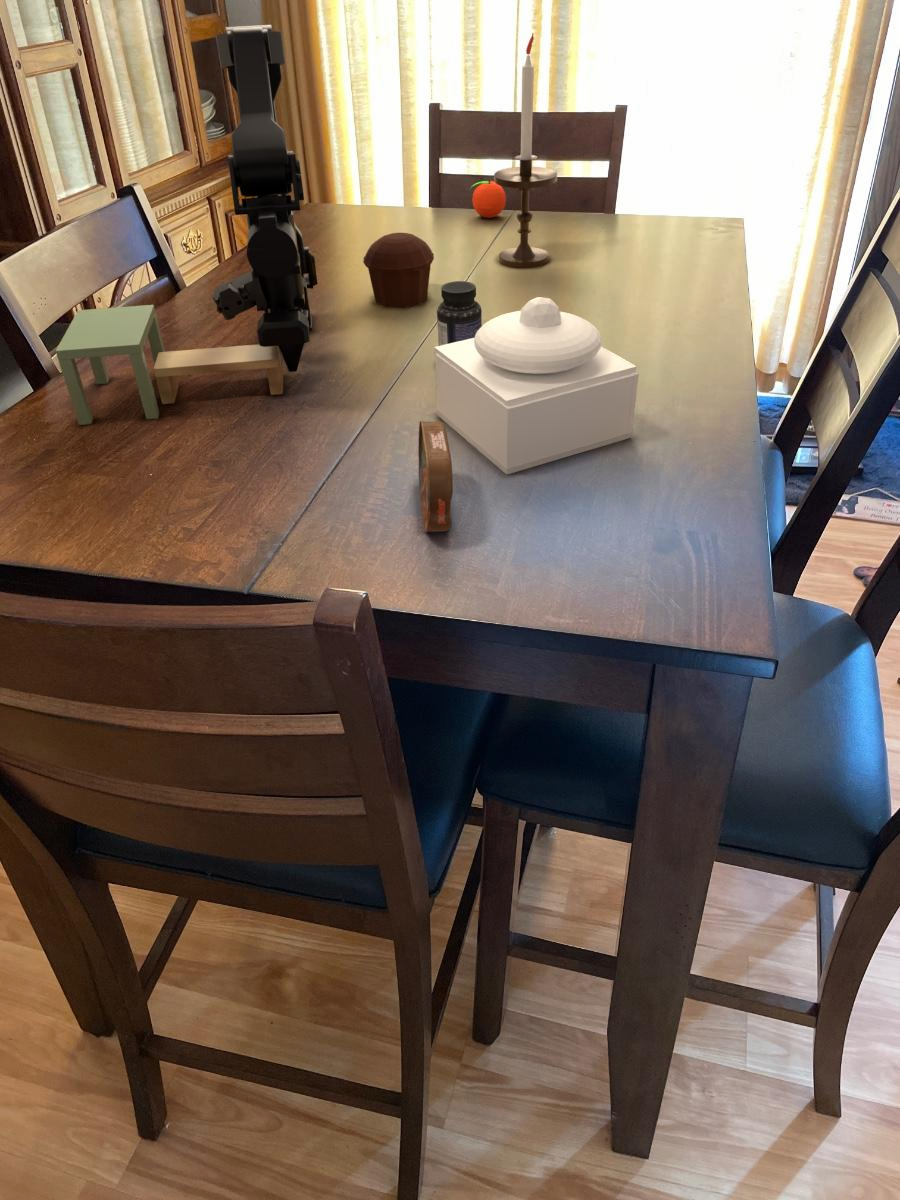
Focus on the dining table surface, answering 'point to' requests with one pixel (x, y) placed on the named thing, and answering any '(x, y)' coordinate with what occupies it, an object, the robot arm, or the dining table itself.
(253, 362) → the bench
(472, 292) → the pill bottle
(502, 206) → the clementine
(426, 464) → the tin
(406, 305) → the muffin
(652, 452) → the dining table surface
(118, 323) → the side table
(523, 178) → the candlestick
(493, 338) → the white lidded box
